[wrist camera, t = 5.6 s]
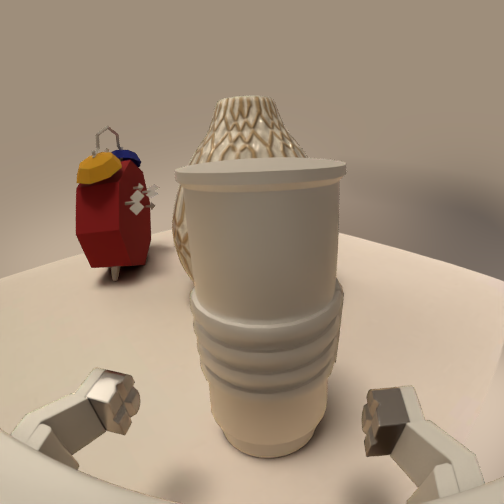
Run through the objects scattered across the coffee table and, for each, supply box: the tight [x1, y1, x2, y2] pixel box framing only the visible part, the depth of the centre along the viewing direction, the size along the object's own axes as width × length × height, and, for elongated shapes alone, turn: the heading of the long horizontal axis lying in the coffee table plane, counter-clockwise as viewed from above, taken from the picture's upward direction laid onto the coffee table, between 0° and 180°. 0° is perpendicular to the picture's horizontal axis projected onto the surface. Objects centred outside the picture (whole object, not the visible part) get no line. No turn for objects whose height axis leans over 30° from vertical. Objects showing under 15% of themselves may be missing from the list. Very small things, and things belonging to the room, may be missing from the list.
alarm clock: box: [76, 126, 159, 281], centre depth 39 cm, size 15×9×20 cm, turn 4°
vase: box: [172, 96, 308, 282], centre depth 31 cm, size 16×16×20 cm
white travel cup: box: [175, 157, 346, 458], centre depth 15 cm, size 7×7×15 cm
